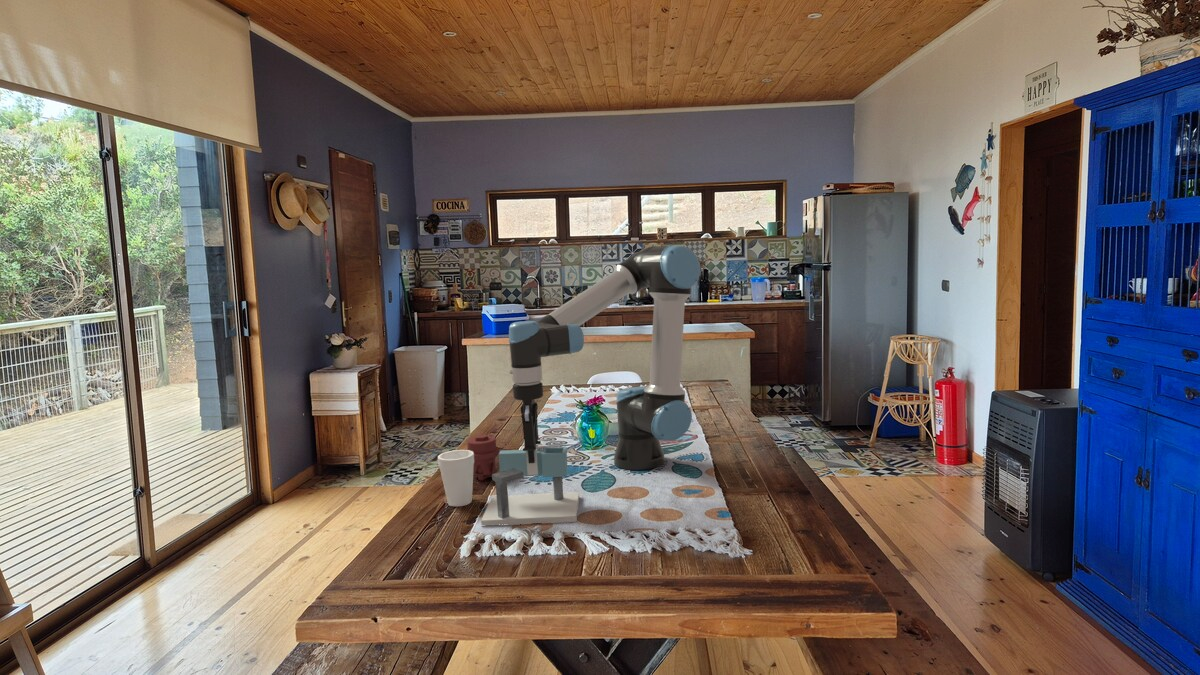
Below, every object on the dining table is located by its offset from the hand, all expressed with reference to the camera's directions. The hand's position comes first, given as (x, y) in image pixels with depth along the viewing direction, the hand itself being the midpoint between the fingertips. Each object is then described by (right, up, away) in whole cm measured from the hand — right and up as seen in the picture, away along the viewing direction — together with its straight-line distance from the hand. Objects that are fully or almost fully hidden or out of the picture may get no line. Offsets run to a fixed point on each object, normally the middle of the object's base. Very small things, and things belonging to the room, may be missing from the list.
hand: (533, 472), depth 187 cm
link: (0, -1, 0) cm, 1 cm away
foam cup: (-20, -10, +7) cm, 24 cm away
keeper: (-5, -10, -8) cm, 14 cm away
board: (0, -9, -3) cm, 10 cm away
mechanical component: (-17, -7, +27) cm, 33 cm away
